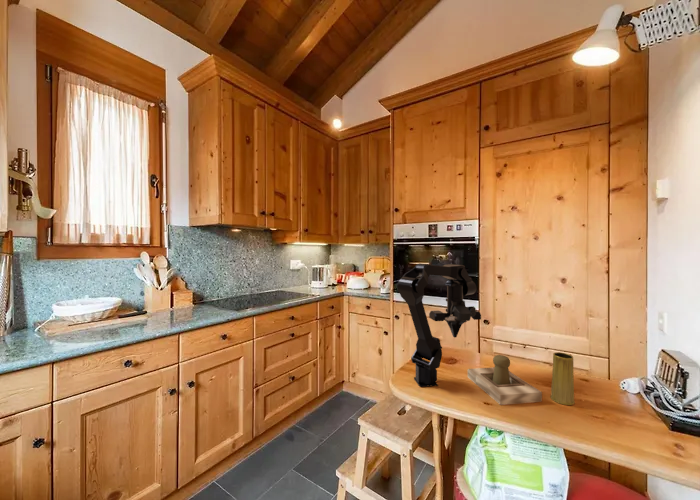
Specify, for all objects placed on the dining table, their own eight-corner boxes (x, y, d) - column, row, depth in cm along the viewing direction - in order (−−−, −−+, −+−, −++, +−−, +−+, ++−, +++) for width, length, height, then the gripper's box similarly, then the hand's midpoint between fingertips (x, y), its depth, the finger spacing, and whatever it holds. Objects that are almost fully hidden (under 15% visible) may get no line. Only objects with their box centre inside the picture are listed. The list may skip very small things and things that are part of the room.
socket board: (500, 404, 90) (500, 394, 90) (467, 376, 109) (467, 368, 109) (541, 401, 92) (541, 391, 92) (502, 374, 111) (502, 365, 111)
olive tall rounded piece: (515, 392, 97) (515, 359, 97) (496, 392, 97) (496, 359, 97) (505, 384, 103) (506, 353, 103) (488, 384, 103) (488, 352, 103)
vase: (570, 397, 95) (570, 353, 94) (578, 407, 89) (578, 360, 88) (548, 394, 97) (548, 350, 96) (554, 403, 91) (554, 357, 90)
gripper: (441, 301, 105) (441, 345, 105) (490, 300, 107) (489, 343, 108) (428, 296, 116) (428, 335, 116) (473, 295, 118) (473, 333, 119)
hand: (454, 337), depth 114 cm, fingers closed
